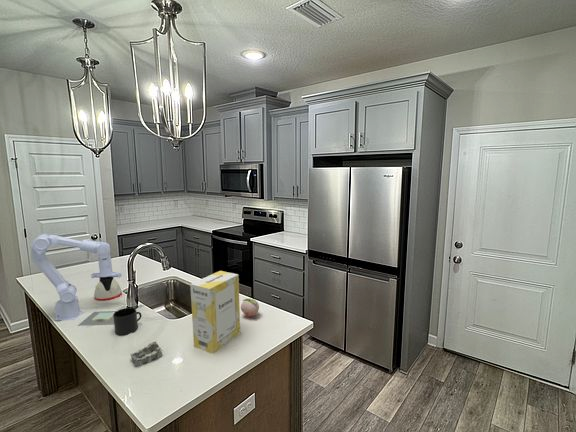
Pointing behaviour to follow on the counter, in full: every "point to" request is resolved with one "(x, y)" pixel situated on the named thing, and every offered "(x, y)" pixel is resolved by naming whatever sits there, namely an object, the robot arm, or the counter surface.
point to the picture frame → (89, 322)
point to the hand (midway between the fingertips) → (108, 290)
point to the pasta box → (215, 310)
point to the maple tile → (103, 317)
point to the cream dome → (107, 295)
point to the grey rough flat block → (146, 350)
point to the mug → (126, 321)
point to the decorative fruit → (250, 307)
